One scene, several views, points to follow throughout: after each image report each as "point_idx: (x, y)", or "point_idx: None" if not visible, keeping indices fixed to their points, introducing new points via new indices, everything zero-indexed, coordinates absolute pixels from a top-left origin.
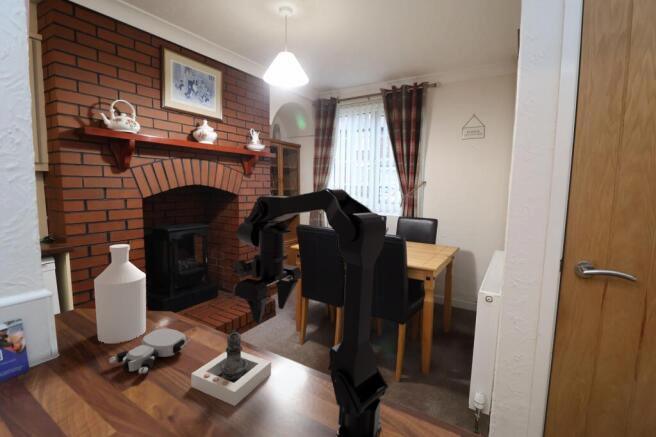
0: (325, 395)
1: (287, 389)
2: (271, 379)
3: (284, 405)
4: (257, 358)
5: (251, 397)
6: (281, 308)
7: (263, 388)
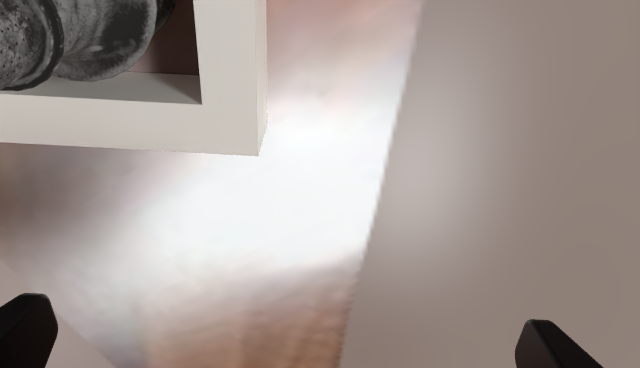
0: (263, 342)
1: (215, 233)
2: None
3: (135, 260)
4: (243, 65)
5: None
6: (518, 353)
7: None
